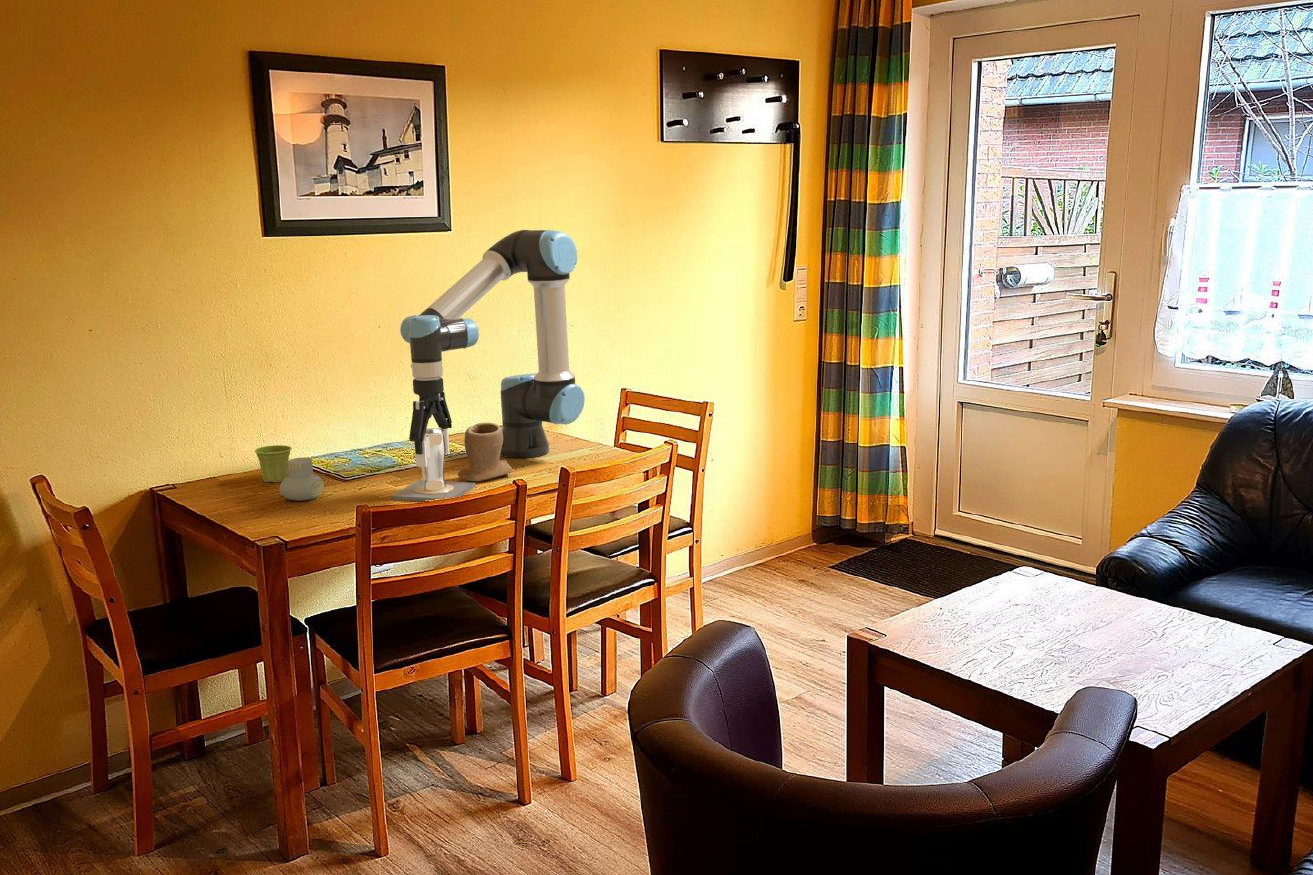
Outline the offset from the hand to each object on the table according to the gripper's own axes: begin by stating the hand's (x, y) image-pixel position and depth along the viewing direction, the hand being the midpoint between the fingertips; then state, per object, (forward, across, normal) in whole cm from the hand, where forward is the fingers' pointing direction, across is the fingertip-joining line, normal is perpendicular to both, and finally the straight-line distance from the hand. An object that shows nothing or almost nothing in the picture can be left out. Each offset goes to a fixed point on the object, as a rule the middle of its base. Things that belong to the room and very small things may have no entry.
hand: (433, 459), depth 288 cm
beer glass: (+8, 0, 0) cm, 8 cm away
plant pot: (+9, -4, -48) cm, 49 cm away
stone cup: (+9, -17, +8) cm, 21 cm away
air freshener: (+9, +11, -31) cm, 34 cm away
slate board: (+9, 0, 0) cm, 9 cm away
